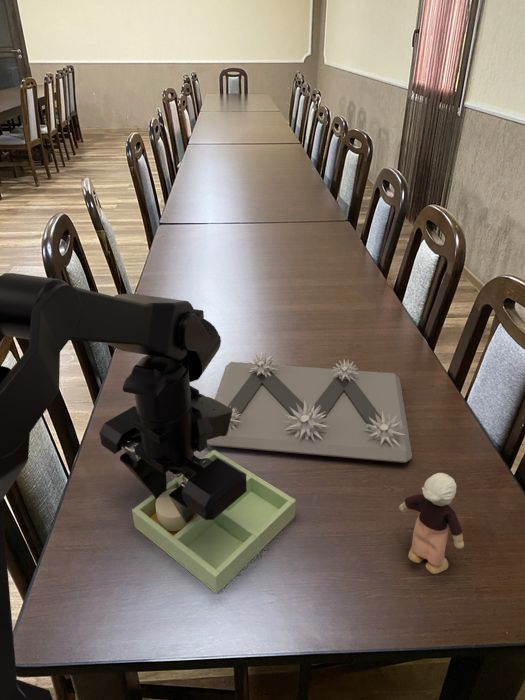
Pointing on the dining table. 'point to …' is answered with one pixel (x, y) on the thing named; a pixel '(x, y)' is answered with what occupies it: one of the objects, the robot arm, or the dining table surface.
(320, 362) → the dining table surface
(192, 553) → the grid
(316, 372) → the decorative plate
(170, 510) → the cylinder
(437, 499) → the grandmother figurine
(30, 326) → the robot arm
